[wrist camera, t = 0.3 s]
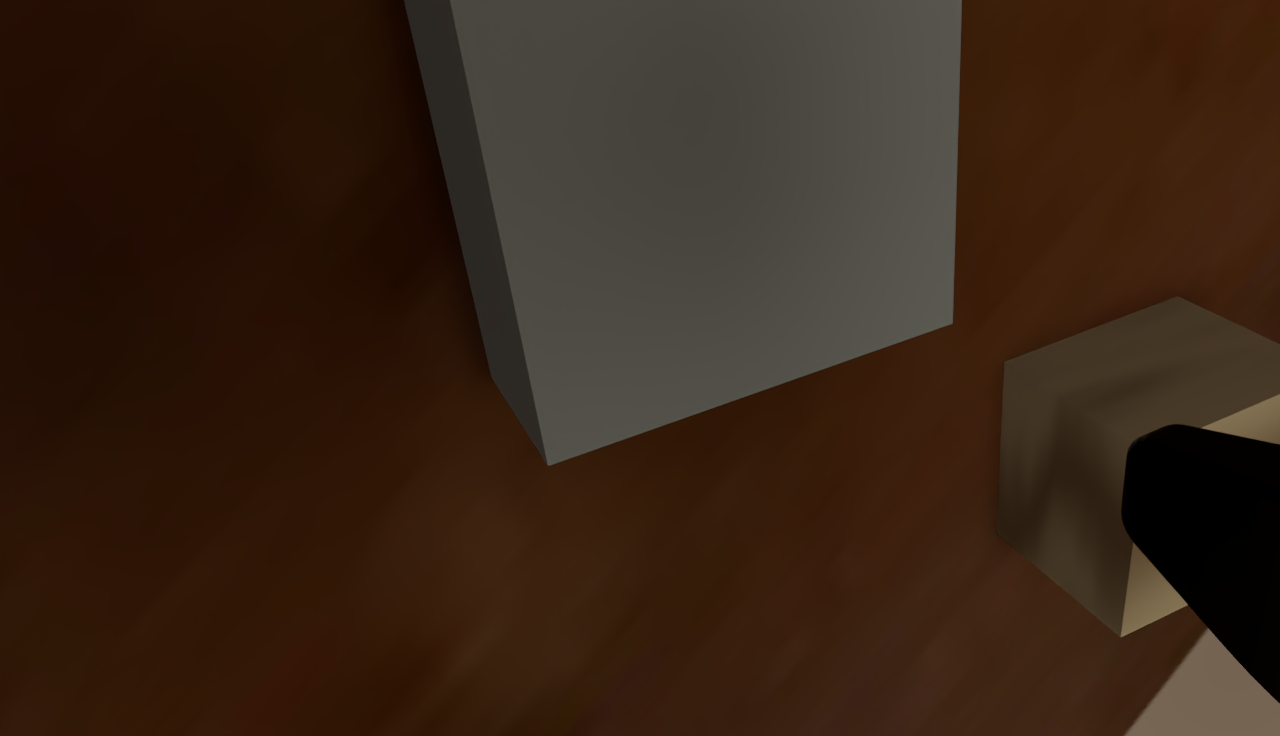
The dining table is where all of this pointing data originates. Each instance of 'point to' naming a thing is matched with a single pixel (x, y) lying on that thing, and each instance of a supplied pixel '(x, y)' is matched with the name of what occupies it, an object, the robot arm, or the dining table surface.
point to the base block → (691, 194)
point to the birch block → (1119, 441)
